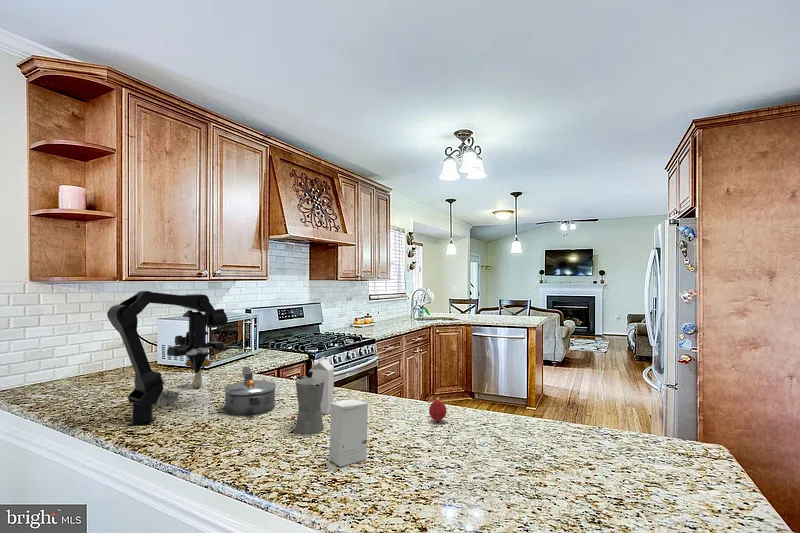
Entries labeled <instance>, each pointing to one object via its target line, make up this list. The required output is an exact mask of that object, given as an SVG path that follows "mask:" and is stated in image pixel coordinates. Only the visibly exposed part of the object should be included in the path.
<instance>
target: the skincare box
mask: <svg viewBox="0 0 800 533" xmlns="http://www.w3.org/2000/svg"><path fill="white" fill-rule="evenodd" d="M368 405H369V404H368V402H366V401H365V400H362V399H357V398H355V399H345V400H339V401H333V402H332V403H331V411H330V422H329V424H330V425H329V430H330V431H329V461H331V462H333V464H335V465H337V466H338V467H339V468H341V467H342V468H343V467H344V466H348V465H351V464H355V463H358V462H363V461H366V460H367V456H368V455H367V450H368V447H367V446H368V411H369V410H368V408H369V406H368Z"/></svg>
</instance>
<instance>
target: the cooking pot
mask: <svg viewBox="0 0 800 533" xmlns="http://www.w3.org/2000/svg"><path fill="white" fill-rule="evenodd" d="M224 394H225V396H224V397H225V398H224V412H225V414H227V415H229V416H233V417H234V416H236V417H237V416H238V417H250V416H251V417H252V416H258V415H264V414H266V413H269V412H271V411H273V410H274V409H275V408H276V404H275V403H276V389H274V390H273V391H270V392H267V393H262V394H256V395H232V394H228V393H225V392H224Z"/></svg>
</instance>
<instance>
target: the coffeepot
mask: <svg viewBox="0 0 800 533" xmlns="http://www.w3.org/2000/svg"><path fill="white" fill-rule="evenodd" d="M312 374H313V372H311V371H309V370H308V371H307V375H308V376H307V375H304V374H301V375H300V376H299V377H298V379H296V380H295V388H296V396H297V404H298V409H297V410H298V411H297V417H296V422H295V427H294V428H295V430H294V431H295V433H297V434H300V435H315V434H318V433H321V432H323V431H324V422H323V415H322V413H321V401H322V395H323V388H324V379H319V378H314V377H312Z"/></svg>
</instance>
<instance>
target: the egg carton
mask: <svg viewBox="0 0 800 533" xmlns="http://www.w3.org/2000/svg"><path fill="white" fill-rule="evenodd" d="M180 395H181V392H178V391H173V390H167V389H163V391H162V393H161V394H160V396H159V398H158V401H157V403H156V404H153V406H157V407H163V406H167V404H172V403H173V402H175V401H179V396H180Z"/></svg>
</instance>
